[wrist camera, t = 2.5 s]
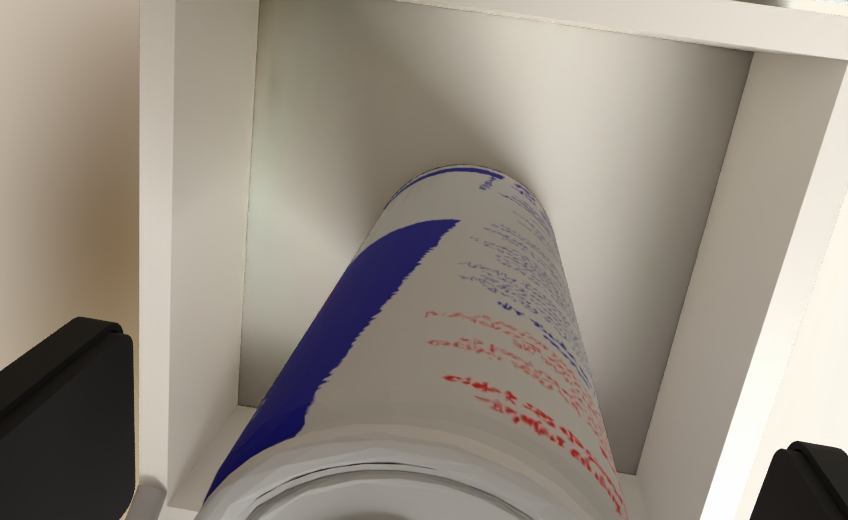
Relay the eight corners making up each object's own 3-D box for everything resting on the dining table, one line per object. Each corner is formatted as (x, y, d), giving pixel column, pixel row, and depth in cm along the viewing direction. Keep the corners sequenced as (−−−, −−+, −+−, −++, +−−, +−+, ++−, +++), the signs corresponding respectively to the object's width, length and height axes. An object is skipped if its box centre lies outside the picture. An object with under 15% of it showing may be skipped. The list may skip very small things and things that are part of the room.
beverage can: (416, 131, 21) (240, 348, 7) (586, 206, 21) (766, 573, 7) (351, 289, 23) (103, 723, 9) (507, 357, 23) (519, 892, 9)
